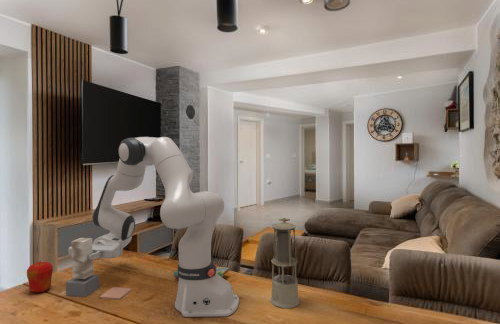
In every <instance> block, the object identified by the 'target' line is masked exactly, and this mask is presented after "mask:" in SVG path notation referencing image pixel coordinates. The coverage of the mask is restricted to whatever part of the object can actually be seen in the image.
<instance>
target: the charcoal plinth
mask: <svg viewBox="0 0 500 324" xmlns="http://www.w3.org/2000/svg"><path fill="white" fill-rule="evenodd" d="M99 288H100V275H99V274H92V275H91V276H89V277H87V278H85V279H77V278H73V277H72V278H71V279H69V280H68V281H66V282H65V293H66V294H65V296H68V297H72V296H73V297H82V298H86V297H87V296H89V295H91V294H92V293H93V292H95V291H97V290H98V289H99Z"/></svg>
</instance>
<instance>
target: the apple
mask: <svg viewBox="0 0 500 324" xmlns="http://www.w3.org/2000/svg"><path fill="white" fill-rule="evenodd" d="M53 268H54V267H53V265H52V263H51V262H48V261H41V260H39V261H38V262H36V263H33V264H31V265H29V267H28V268H27V269H26V276H27V277H26V278H27V280H28V286H29V290H30V291H31V292H33V293H35V294H37V293H44V292H46V291H48V290H49V289H50V287H51V286H52V277H53V270H54V269H53Z"/></svg>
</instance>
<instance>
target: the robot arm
mask: <svg viewBox="0 0 500 324" xmlns="http://www.w3.org/2000/svg"><path fill="white" fill-rule="evenodd" d="M117 150H118V152H117V154H118V157H119V160H118V163H117V167H116V171H115V173H114V174H112V175H110V176H109V177H108V179H107V181H106V182H105V184H104V187H103V189H102V191H101V193H100V194H101V195H100V198H99V200H98V203H97V206H96V207H95V209H94V211H93V214H92V216H91V217H92V222H93V225H94V226H96V227H99V228H102V229H105V230H108V231H109V233H105V234H104V235H101V236H99V237H97V238H94V240H93V241H92V246H93V254H89V255H87V260H92V259H93V260H94V259H108V260H109V259H115V258H117V257H120V256H122V255H123V251H124V250H123V249H124V248H125V247H127V245H129V243H130V242H131V241H132V238H133V234H134V231H135V229H136V228H135V227H136V220H135V217H134V215H132V214H130V213H128V212H125V211H122V210H120V209H117V208H116V207H114V206H113V205H112V203H113V201H114V198H115V195H116V192H119V191H120V192H123V191H124V192H126V191H133V190H135V189H137V188H139V187H140V186H141V185H142V183H143V181H144V177H145V172H146V166H154V168H155V170H156V172H157V174H158V177H159V178H160V180H161V183H162V184H163V187H164V188H163V189H164V192H165V193H164V194H165V197H164V201H163V202H162V204H161V206H160V209H159V211H160V212H159V216H160V220H161V221H162V223H163V225H164V226H165V227H167V228H169V229H174V230H175V229H178V230H179V229H185V228H187V229H186V232H185V233H184V235H183V236H182V237H181V238H180V239H179V242H178V264H177V269H176V270H177V275H178V279H177V281H178V285H177V292H176V299H175V303H174V307H175V309H176V310H177V311H179V312H180V313H181V315H182V317H185V318H189V317H190V318H193V317H194V318H195V317H197V318H199V317H201V318H202V317H229V316H231V315H232V314H234V313H235V312H236V310H237V309H238V307H239V305H240V297H239V296H238V294H235V293H234V292H233V287H232V285H231V282H229V281H228V280H226V279H225V278H223V276H222V277H221V276H220V275H218V274H217V273H216V268H217V266H218V263H215V264H214V263H213V262H212V260H211V259H212V255H211V252H212V251H211V250H212V238H213V234H214V231H215V227H216V225H217V222H218V219H219V217H220V216H221V215H222V214H223V213H224V210H225V202H224V199H223V197H222V196H221V195H220V194H219V193H217V192H215V191H207V190H204V191H198V192H193V191H192V190H191V187H190V184H191V182H192V180H193V177H194V173H193V171H192V168H191V167H190V166H189V164H188V161H187V159H186V157H185V156H184V154H183V152H182V151H181V149H180V147H178V146H177V144H176V143H175V141H174V140H173V139H172V138H170V137H167V136H161V137H153V136H151V137H150V136H138V137H127V138H124V139H123V140H121V142H120V143H119V145H118V149H117ZM67 252H68V253H67V254H68V257H70V258H72V245H71V246H69V247H68V249H67Z"/></svg>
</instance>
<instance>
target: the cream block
mask: <svg viewBox="0 0 500 324" xmlns="http://www.w3.org/2000/svg"><path fill="white" fill-rule="evenodd" d="M92 243H93V238H92V237H80V238H77V239H74V240H71V246H72V257H71V263H72V265H71V266H72V267H71V269H72V279H73V278H77V279H85V278H87V277H89V276H91V275H94V259H92V260H87V255H89V254H93V246H92Z"/></svg>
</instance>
